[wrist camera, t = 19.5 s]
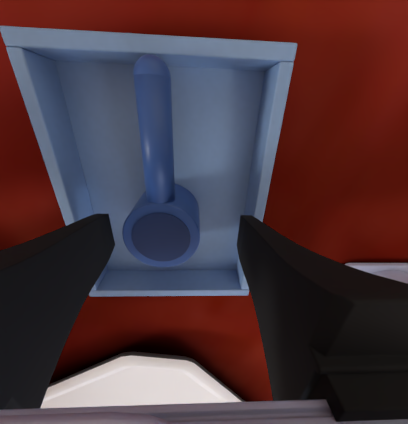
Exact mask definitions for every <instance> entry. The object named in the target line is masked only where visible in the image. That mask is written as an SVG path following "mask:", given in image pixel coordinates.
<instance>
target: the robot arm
mask: <svg viewBox="0 0 408 424" xmlns="http://www.w3.org/2000/svg"><path fill="white" fill-rule="evenodd" d="M114 247H115V241H114V237H113V232H112V228H111V223H110V218H109V214H98V213H97V214H93V215H90V216H88V217H85V218H83V219H81V220H78V221H76V222H74V223H71V224H69V225H67V226H64V227H62V228H60V229H58V230H55V231H53V232H50V233H48V234H45V235H43V236H40V237H38V238H35V239H33V240H30V241H27V242H25V243H22V244H19V245H16V246H13V247H10V248H7V249H4V250H1V251H0V424H408V263H346V264H341V263H339V262H336V261H334V260H331V259H329V258H326V257H324V256H321V255H319V254H317V253H314V252H312V251H310V250H308V249H306V248H304V247H302V246H300V245H298V244H296V243H294V242H293V241H291V240H289V239H288V238H286V237H284V236H283V235H281V234H279V233H278V232H276V231H275V230H273V229H272V228H270V227H269V226H267V225H266V224H264V223H263V222H261V221H260V220H258V219H257V218H255V217H254V216H252V215H240V223H239V231H238V238H237V250H238V256H239V260H240V263H241V266H242V269H243V272H244V275H245V278H246V281H247V284H248V287H249V290H250V293H251V296H252V299H253V302H254V306H255V310H256V315H257V319H258V323H259V328H260V333H261V337H262V342H263V347H264V352H265V357H266V362H267V368H268V373H269V379H270V384H271V390H272V396H273V401H256V402H225V403H193V404H162V405H131V406H100V407H69V408H41V405H42V402H43V399H44V397H45V394H46V391H47V388H48V386H49V383H50V380H51V377H52V375H53V372H54V370H55V367H56V365H57V362H58V360H59V357H60V355H61V352H62V350H63V347H64V345H65V343H66V340H67V338H68V336H69V333H70V331H71V329H72V327H73V324H74V322H75V320H76V318H77V316H78V314H79V312H80V309H81V307H82V305H83V303H84V302H85V300H86V298H87V296H88V295H89V293H90V291H91V290H92V288H93V286H94V285H95V283H96V281H97V280H98V278H99V276H100V275H101V273H102V271H103V270H104V268H105V266H106V265H107V263H108V261H109V259H110V257H111V254H112V252H113V249H114Z"/></svg>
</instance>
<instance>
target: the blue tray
mask: <svg viewBox="0 0 408 424" xmlns="http://www.w3.org/2000/svg"><path fill="white" fill-rule="evenodd" d="M0 31H1V34H2V37H3V40H4V43H5V45H6V46H8V47H6V49H7V52H8V55H9V58H10V61H11V64H12V67H13V70H14V73H15V76H16V79H17V82H18V85H19V88H20V91H21V94H22V97H23V100H24V103H25V106H26V109H27V112H28V115H29V118H30V121H31V124H32V127H33V130H34V133H35V136H36V139H37V142H38V144H39V147H40V150H41V153H42V156H43V159H44V162H45V165H46V168H47V171H48V174H49V177H50V180H51V183H52V186H53V189H54V192H55V195H56V198H57V201H58V204H59V207H60V210H61V213H62V216H63V219H64V222H65V225H66V226H67V225H69V224H71V223H74V222H76V221H78V220H81V219H83V218H85V217H88V216H90V215H93V214H97V213H98V214H109V218H110V223H111V228H112V232H113V237H114V241H115V247H114V249H113V252H112V254H111V257H110V259H109V261H108V263H107V265H106V266H105V268H104V270H103V271H102V273H101V275H100V276H99V278H98V280H97V281H96V283H95V285H94V286H93V288H92V290H91V291H90V293H89V296H90V297H98V296H229V295H248V293H249V287H248V284H247V281H246V278H245V275H244V272H243V269H242V266H241V263H240V260H239V256H238V250H237V238H238V231H239V223H240V215H252V216H254V217H255V218H257V219H258V220H260V221H261V222H263V217H264V212H265V207H266V202H267V197H268V192H269V187H270V181H271V176H272V171H273V166H274V161H275V156H276V151H277V146H278V141H279V136H280V131H281V126H282V121H283V115H284V110H285V105H286V100H287V95H288V90H289V85H290V80H291V75H292V70H293V65H294V63H293V61H294V59H295V54H296V49H297V43H289V42H272V41H255V40H237V39H220V38H203V37H186V36H169V35H151V34H134V33H117V32H100V31H83V30H66V29H48V28H31V27H14V26H0ZM145 54H153V55H156V56H158V57H160V58H161V59H162V60H163V61H164V62H165V63H166V65H167V66H168V69H169V71H170V76H171V95H172V123H173V150H174V178H175V184H178V185H181V186H183V187H184V188H186V189H188V190H189V191H190V192H191V193H192V194H193V195H194V197H195V198H196V200H197V202H198V206H199V219H200V243H199V246H198V248H197V250H196V252H195V253H194V255H193V256H192V257H191V258H190V259H188V260H187V261H185V262H184V263H182V264H179V265H176V266H172V267H155V266H151V265H148V264H145V263H143V262H141V261H140V260H138V259H137V258H135V257H134V256H133V255H132V254H131V253H130V252H129V251H128V249H127V247H126V246H125V243H124V240H123V235H122V229H123V224H124V222H125V220H126V218H127V216H128V215H129V214H130V212H131V211H132V209H133V208H134V206H135V205H136V203H137V202H138V200H139V199H140V198H141V196H142V195H143V193H144V192H145V191H146V187H145V178H144V169H143V160H142V151H141V141H140V132H139V123H138V114H137V104H136V95H135V86H134V77H133V70H134V65H135V63H136V61H137V60H138V59H139V58H140V57H141V56H143V55H145Z"/></svg>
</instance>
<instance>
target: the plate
mask: <svg viewBox="0 0 408 424" xmlns="http://www.w3.org/2000/svg"><path fill="white" fill-rule="evenodd" d="M225 402H245V401H244V400H243V399H242V398H241V397H239V396H238V395H237V394H236V393H234V392H233V391H232V390H231V389H230V388H228V387H227V386H226V385H225V384H223V383H222V382H221V381H220V380H219V379H217V378H216V377H215V376H214V375H212V374H211V373H210V372H209V371H208V370H206V369H205V368H204V367H203V366H202V365H200V364H199V363H198V362H197V361H195V360H194V359H192V358H189V357H186V356H177V355H166V354H155V353H144V352H133V351H132V352H124V353H121V354H119V355H116V356H114V357H112V358H109V359H107V360H105V361H102V362H100V363H98V364H95V365H93V366H91V367H88V368H86V369H84V370H81V371H79V372H77V373H74V374H72V375H70V376H67V377H65V378H63V379H60V380H58V381H56V382H53V383H51V384H49V386H48V388H47V391H46V394H45V397H44V399H43V402H42V405H41V408H69V407H100V406H131V405H162V404H193V403H225Z"/></svg>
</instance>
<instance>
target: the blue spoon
mask: <svg viewBox="0 0 408 424" xmlns="http://www.w3.org/2000/svg"><path fill="white" fill-rule="evenodd" d="M133 77H134V86H135V95H136V104H137V114H138V123H139V132H140V141H141V151H142V160H143V169H144V178H145V187H146V191H145V192H144V193H143V195H142V196H141V198H140V199H139V200H138V202H137V203H136V205H135V206H134V208H133V209H132V211H131V212H130V214H129V215H128V216H127V218H126V220H125V222H124V224H123V229H122V235H123V240H124V243H125V246H126V247H127V249H128V251H129V252H130V253H131V254H132V255H133V256H134V257H135V258H137V259H138V260H140V261H141V262H143V263H145V264H148V265H151V266H155V267H172V266H176V265H179V264H182V263H184V262H185V261H187V260H188V259H190V258H191V257H192V256H193V255H194V253H195V252H196V250H197V248H198V246H199V243H200V219H199V206H198V202H197V200H196V198H195V197H194V195H193V194H192V193H191V192H190V191H189V190H188V189H186V188H184V187H183V186H181V185H178V184H175V178H174V150H173V123H172V95H171V76H170V71H169V69H168V66H167V65H166V63H165V62H164V61H163V60H162V59H161V58H160V57H158V56H156V55H153V54H145V55H143V56H141V57H140V58H139V59H138V60H137V61H136V63H135V65H134V70H133Z"/></svg>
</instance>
